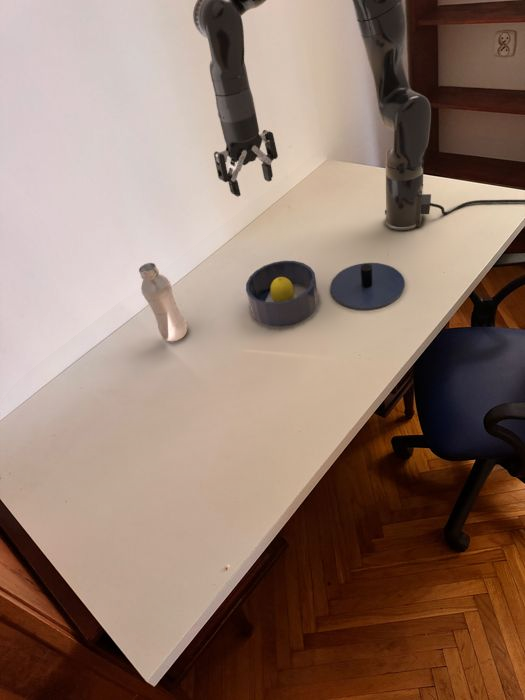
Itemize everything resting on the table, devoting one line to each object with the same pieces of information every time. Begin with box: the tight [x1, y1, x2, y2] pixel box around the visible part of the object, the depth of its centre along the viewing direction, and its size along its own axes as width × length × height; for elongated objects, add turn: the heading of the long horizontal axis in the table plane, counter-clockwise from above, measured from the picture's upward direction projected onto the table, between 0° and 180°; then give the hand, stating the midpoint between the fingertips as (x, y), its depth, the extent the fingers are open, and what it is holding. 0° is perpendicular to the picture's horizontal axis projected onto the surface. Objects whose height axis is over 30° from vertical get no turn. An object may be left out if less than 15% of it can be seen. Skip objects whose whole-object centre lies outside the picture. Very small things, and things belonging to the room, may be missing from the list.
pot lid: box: [330, 262, 406, 311], centre depth 111 cm, size 17×17×6 cm
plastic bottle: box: [138, 262, 188, 342], centre depth 107 cm, size 6×7×20 cm
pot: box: [245, 260, 320, 328], centre depth 112 cm, size 16×16×7 cm
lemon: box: [270, 277, 295, 302], centre depth 112 cm, size 6×6×8 cm
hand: (252, 187), depth 108 cm, fingers open, 8 cm apart
